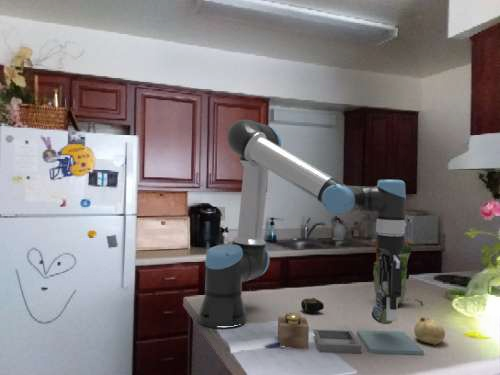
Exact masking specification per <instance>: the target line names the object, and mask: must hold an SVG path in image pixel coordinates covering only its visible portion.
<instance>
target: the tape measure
mask: <svg viewBox="0 0 500 375" xmlns="http://www.w3.org/2000/svg"><path fill="white" fill-rule="evenodd" d="M300 305H301V310H303V311H304V312H307V313H316V312H319V311H322V310H324V308H325V306H324V303H323V302H322V301H321V300H319V299H317V298H315V297H311V298H309V297H308V298H304V299H302V300H301V302H300Z"/></svg>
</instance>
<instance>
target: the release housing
mask: <svg viewBox="0 0 500 375" xmlns="http://www.w3.org/2000/svg"><path fill="white" fill-rule="evenodd" d="M277 318H278V320H277V336H278V335H279V342H278V344H279V343H280V345H281V346H285V347H292V348H291V349H304V348H308V349H309V336H310V335H309V333H310V332H309V331H310V329H309V328H310V326H309V322H308V321H307V317H306V316H301V319H300V320H298V324H290V323H288V320H287V319H286V318H285V315H284V316H282V315H281V316H280V315H278V317H277Z"/></svg>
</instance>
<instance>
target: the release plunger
mask: <svg viewBox="0 0 500 375" xmlns="http://www.w3.org/2000/svg"><path fill="white" fill-rule="evenodd" d="M284 316H285V318H286V319H287V320H288V323H290V324H298V320H300V319H301V317H302V315H301V314H300V313H297V312H287V313H285V315H284Z"/></svg>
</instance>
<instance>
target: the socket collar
mask: <svg viewBox="0 0 500 375" xmlns="http://www.w3.org/2000/svg"><path fill="white" fill-rule="evenodd" d="M312 331H313V332H312V334H313V333H314V335H315V339H314V343H315V344H316V345H315V346H316V348H317V350H318V352H319V351H320V352H319V353H323V352H324V353H338V354H339V353H340V354H341V353H343V354H362V345H361V344H360V342H359V340H358V339H357V337H356V335H355V334H354V333H353V331H352V330H347V329H346V330H342V329H313V330H312ZM322 338H323V339H345V340H346V339H347V340H349V342H350V343H334V342H333V343H332V342H331V343H330V342H323V340H322Z"/></svg>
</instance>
